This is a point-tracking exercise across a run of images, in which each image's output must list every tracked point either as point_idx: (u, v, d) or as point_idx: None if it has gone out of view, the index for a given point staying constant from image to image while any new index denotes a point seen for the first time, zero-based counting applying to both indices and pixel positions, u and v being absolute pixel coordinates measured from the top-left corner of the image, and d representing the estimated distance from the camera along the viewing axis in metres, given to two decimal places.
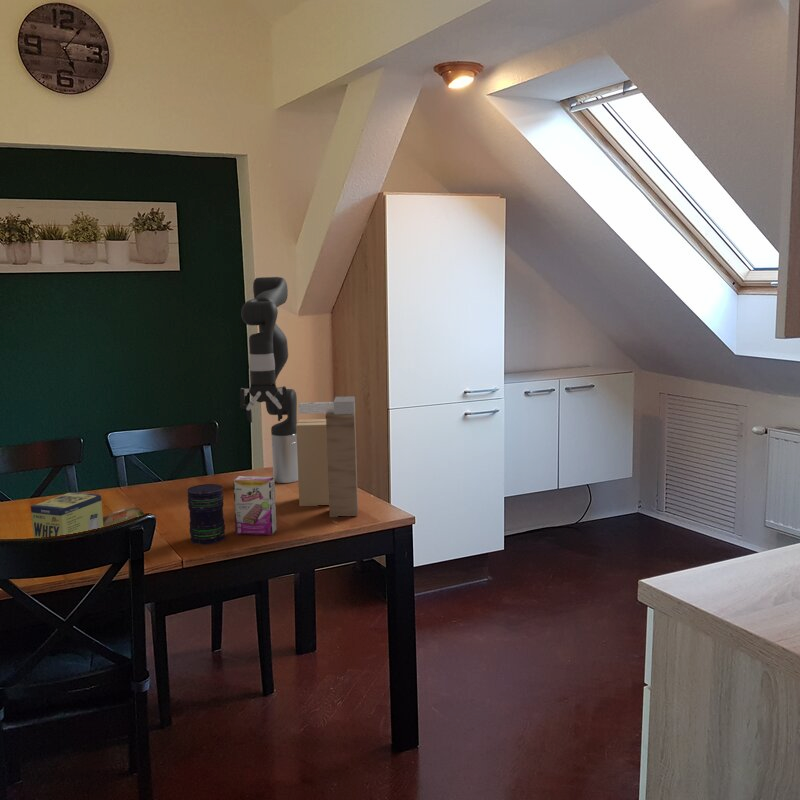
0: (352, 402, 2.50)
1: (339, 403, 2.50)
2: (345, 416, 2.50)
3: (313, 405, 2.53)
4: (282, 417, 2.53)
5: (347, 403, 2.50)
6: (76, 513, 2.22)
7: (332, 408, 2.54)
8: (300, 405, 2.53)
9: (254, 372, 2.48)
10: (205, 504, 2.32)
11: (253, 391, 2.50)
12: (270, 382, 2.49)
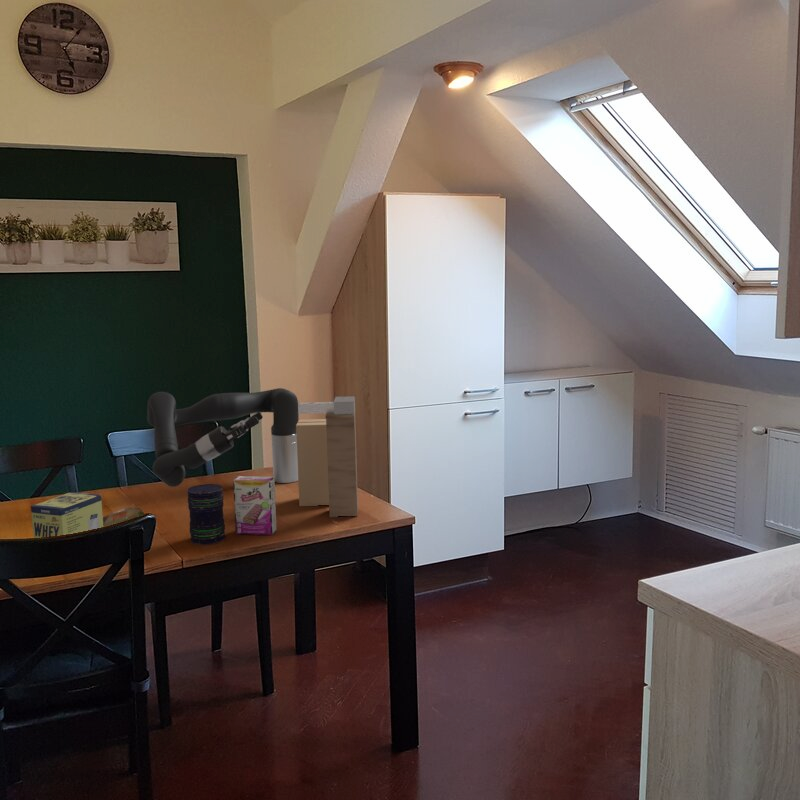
0: (352, 402, 2.50)
1: (339, 403, 2.50)
2: (345, 416, 2.50)
3: (313, 405, 2.53)
4: None
5: (347, 403, 2.50)
6: (76, 513, 2.22)
7: (332, 408, 2.54)
8: (300, 405, 2.53)
9: (210, 436, 2.53)
10: (205, 504, 2.32)
11: (229, 431, 2.53)
12: None
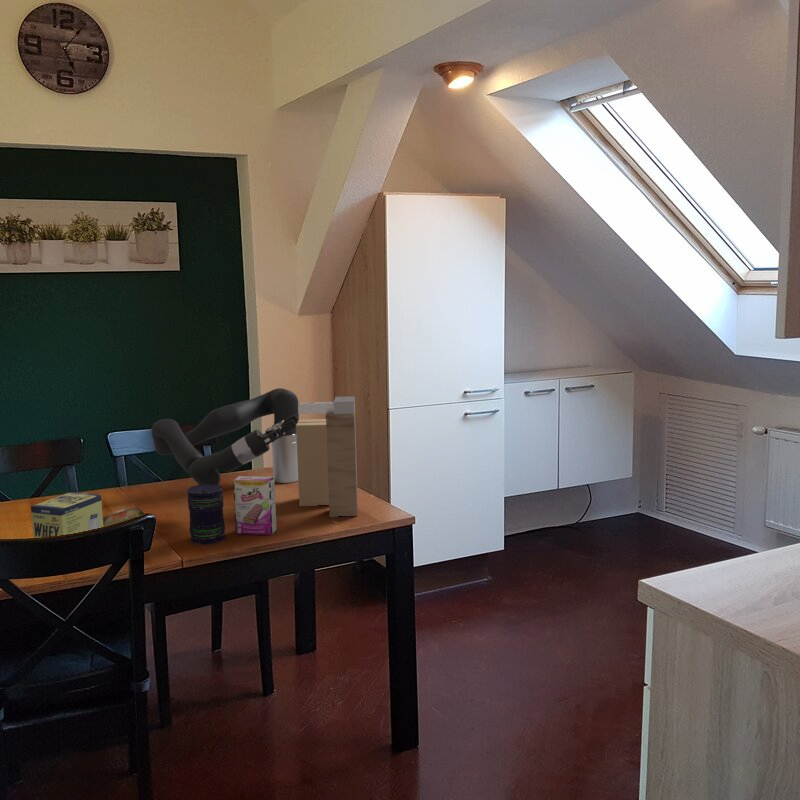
0: (352, 402, 2.50)
1: (339, 403, 2.50)
2: (345, 416, 2.50)
3: (313, 405, 2.53)
4: None
5: (347, 403, 2.50)
6: (76, 513, 2.22)
7: (332, 408, 2.54)
8: (300, 405, 2.53)
9: (246, 439, 2.53)
10: (205, 504, 2.32)
11: (266, 434, 2.53)
12: None
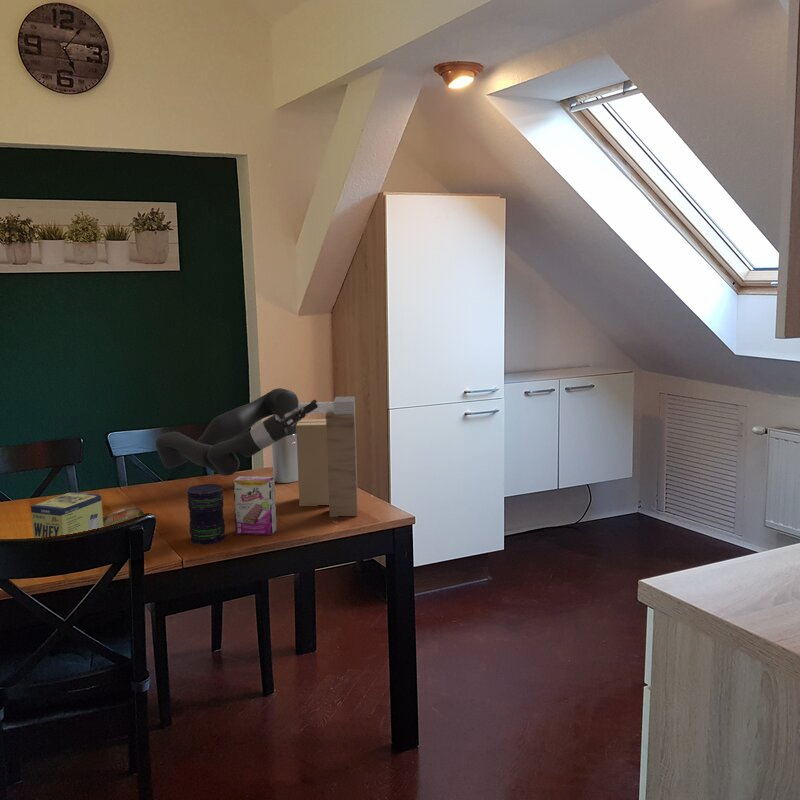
0: (352, 402, 2.50)
1: (339, 403, 2.50)
2: (345, 416, 2.50)
3: None
4: None
5: (347, 403, 2.50)
6: (76, 513, 2.22)
7: (332, 408, 2.54)
8: (300, 405, 2.53)
9: (265, 424, 2.53)
10: (205, 504, 2.32)
11: (284, 419, 2.52)
12: None
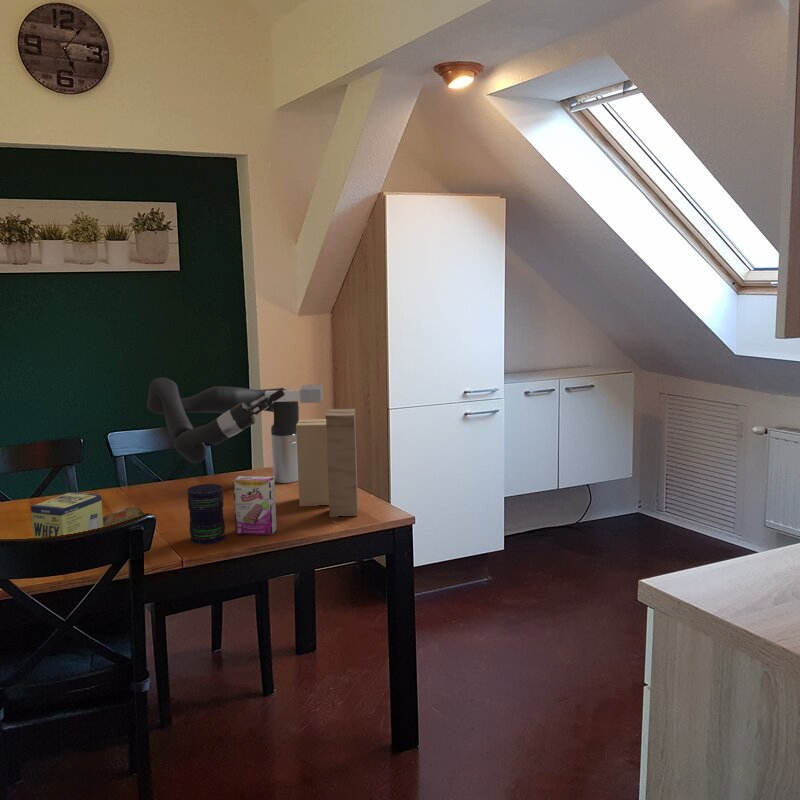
0: (319, 390, 2.49)
1: (306, 391, 2.49)
2: (345, 416, 2.50)
3: None
4: None
5: (314, 391, 2.49)
6: (76, 513, 2.22)
7: (299, 396, 2.53)
8: (267, 393, 2.53)
9: (231, 412, 2.52)
10: (205, 504, 2.32)
11: (251, 407, 2.52)
12: None
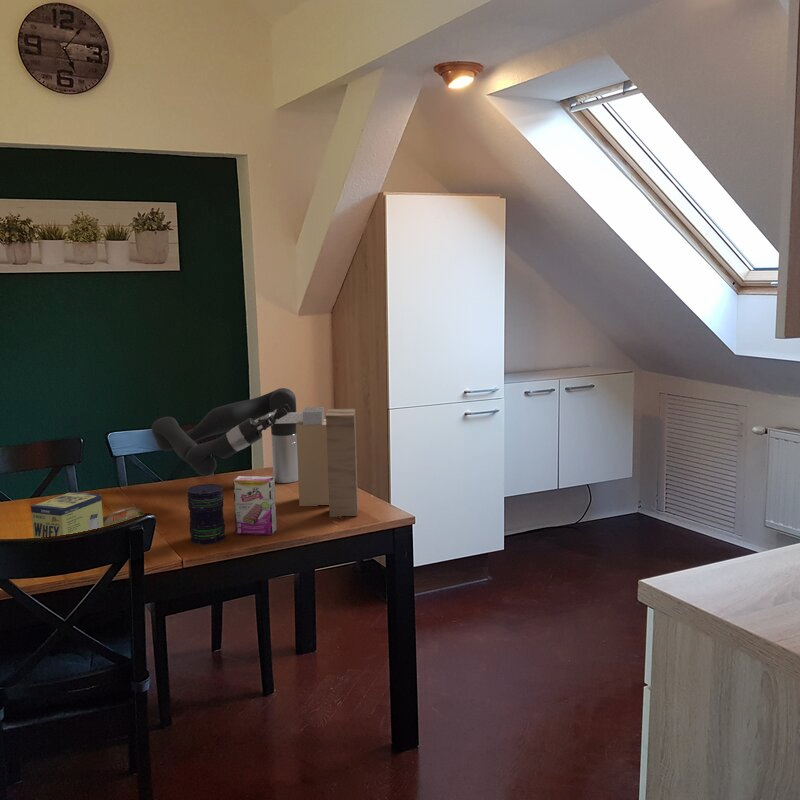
0: (320, 413, 2.64)
1: (308, 413, 2.64)
2: (345, 416, 2.50)
3: None
4: None
5: (315, 413, 2.64)
6: (76, 513, 2.22)
7: (302, 418, 2.68)
8: None
9: (240, 427, 2.67)
10: (205, 504, 2.32)
11: (258, 423, 2.67)
12: None
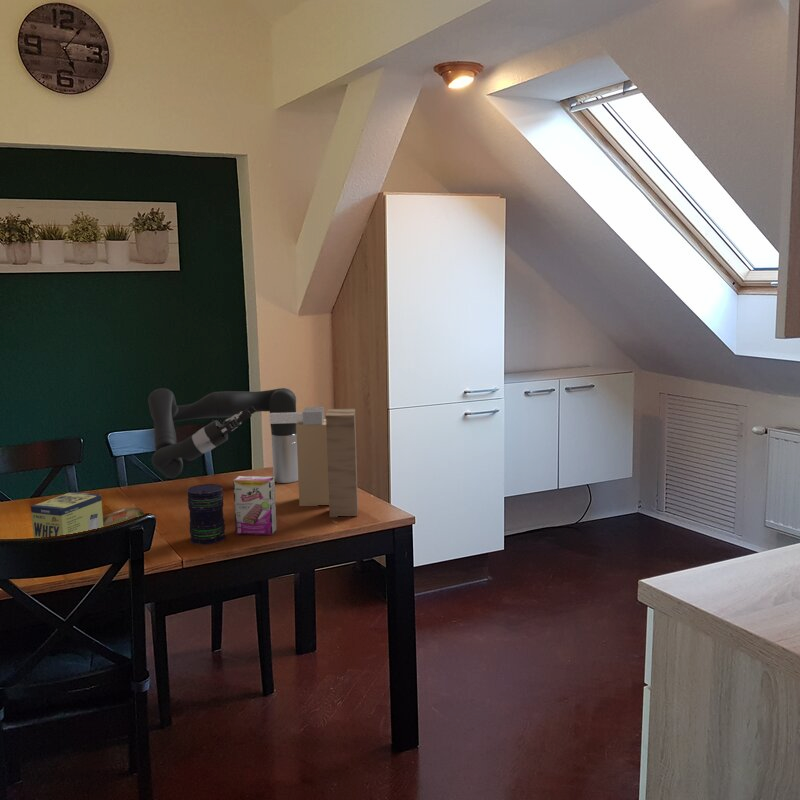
0: (320, 413, 2.64)
1: (308, 413, 2.64)
2: (345, 416, 2.50)
3: (284, 415, 2.68)
4: None
5: (315, 413, 2.64)
6: (76, 513, 2.22)
7: (302, 418, 2.68)
8: (271, 415, 2.68)
9: (205, 429, 2.67)
10: (205, 504, 2.32)
11: (223, 425, 2.66)
12: None
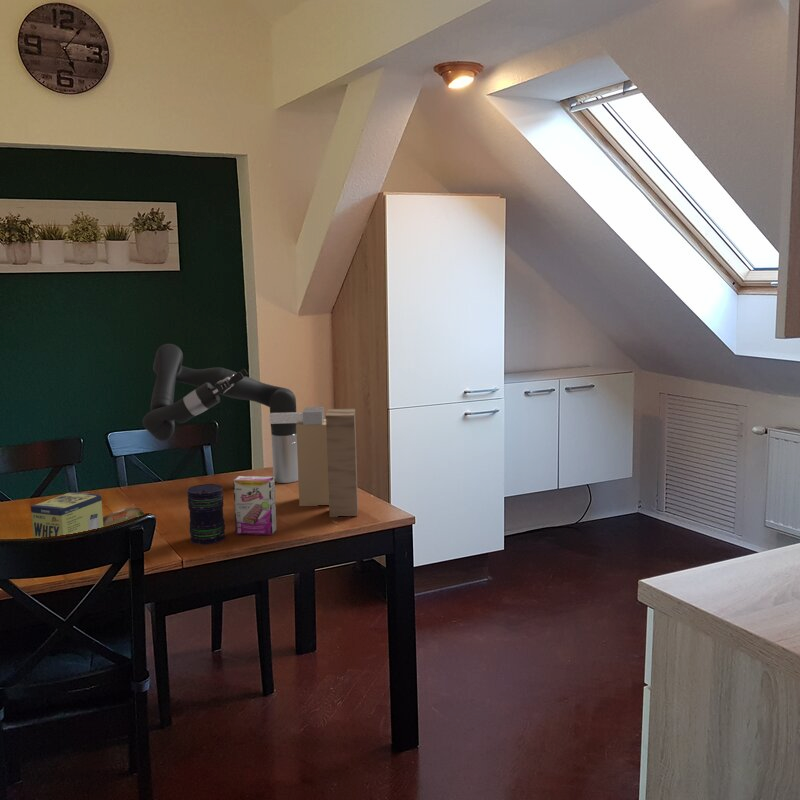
0: (320, 413, 2.64)
1: (308, 413, 2.64)
2: (345, 416, 2.50)
3: (284, 415, 2.68)
4: None
5: (315, 413, 2.64)
6: (76, 513, 2.22)
7: (302, 418, 2.68)
8: (271, 415, 2.68)
9: (197, 391, 2.65)
10: (205, 504, 2.32)
11: (215, 386, 2.65)
12: None
